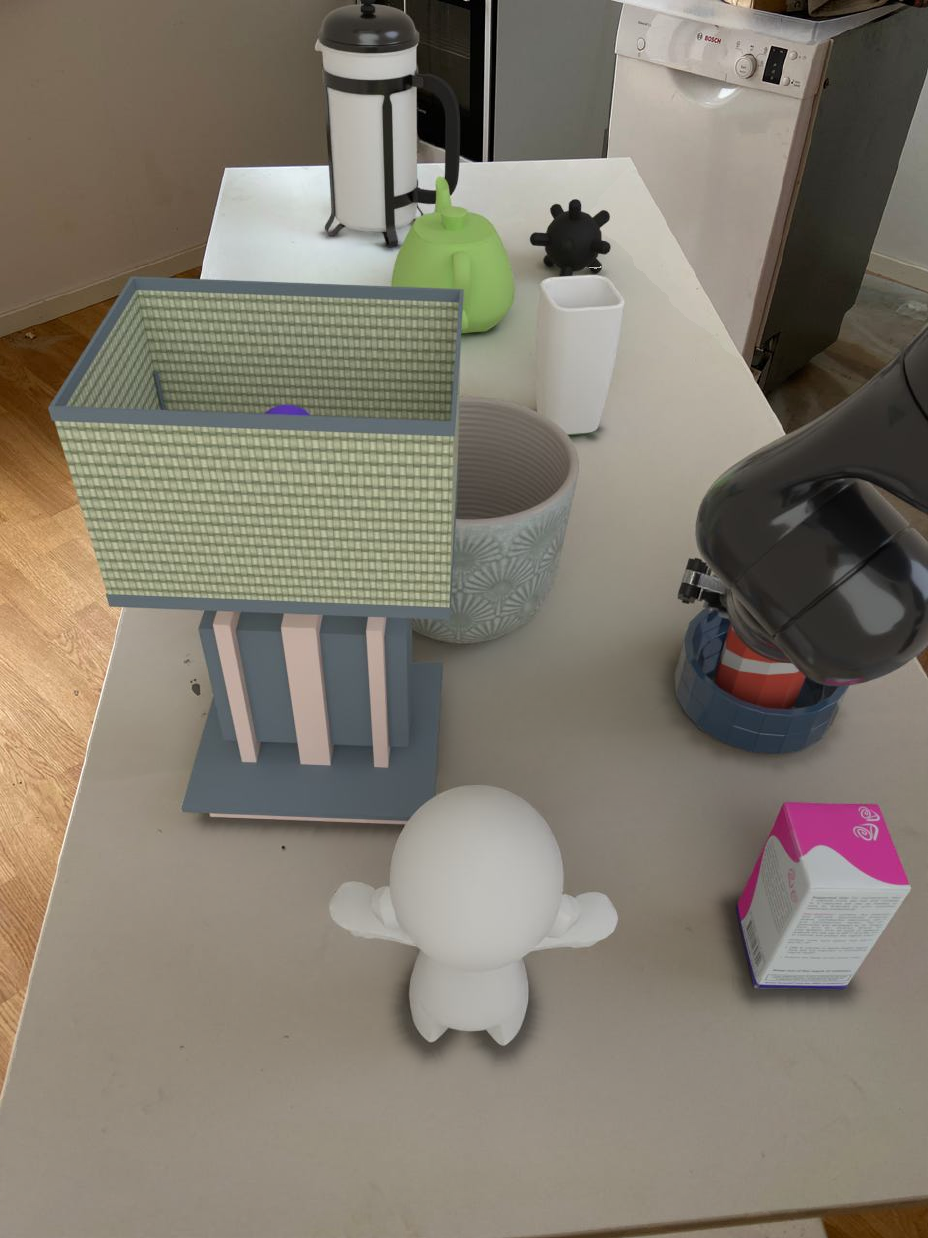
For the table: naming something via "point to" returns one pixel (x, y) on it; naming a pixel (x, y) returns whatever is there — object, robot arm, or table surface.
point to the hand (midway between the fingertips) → (780, 616)
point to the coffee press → (378, 119)
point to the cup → (576, 349)
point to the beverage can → (756, 676)
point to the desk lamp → (282, 522)
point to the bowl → (737, 717)
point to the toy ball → (573, 239)
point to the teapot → (458, 261)
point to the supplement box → (819, 895)
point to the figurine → (474, 908)
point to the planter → (505, 518)
